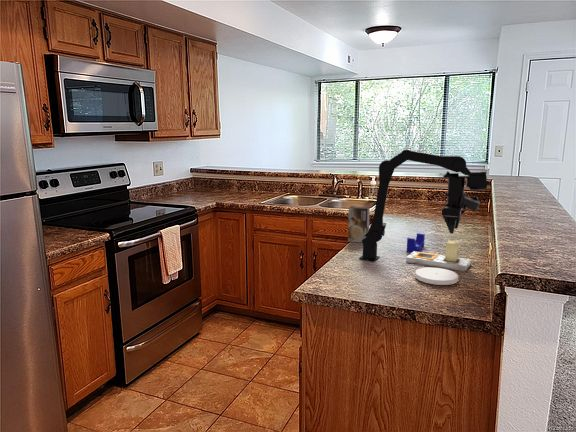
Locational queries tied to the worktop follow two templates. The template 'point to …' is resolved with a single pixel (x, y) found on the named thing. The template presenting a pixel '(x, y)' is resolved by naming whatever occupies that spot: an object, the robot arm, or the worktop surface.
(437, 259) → the grey plate with holes
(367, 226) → the coffee box
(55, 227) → the worktop surface
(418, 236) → the blue curved block
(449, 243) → the beige rectangular block
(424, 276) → the plastic lid
